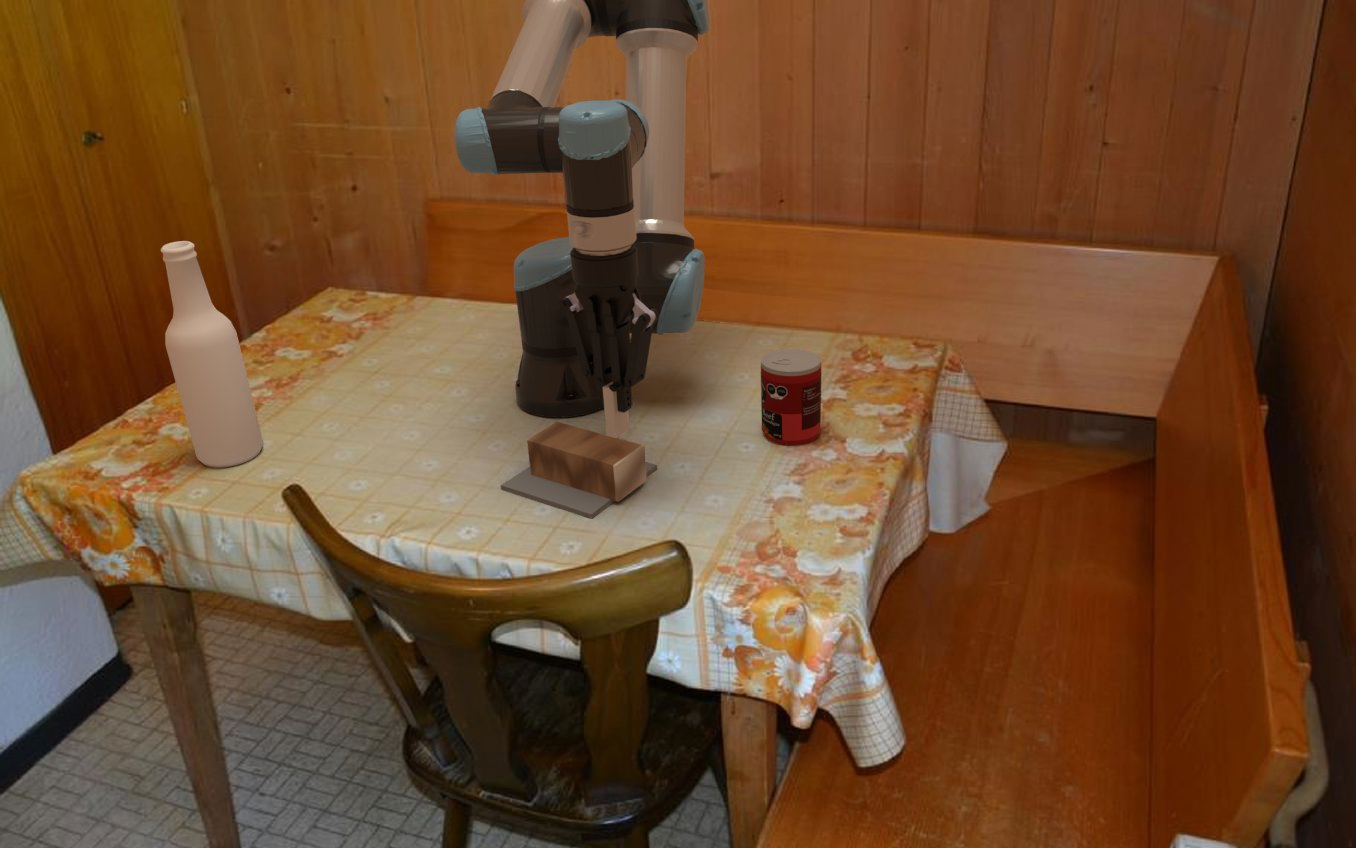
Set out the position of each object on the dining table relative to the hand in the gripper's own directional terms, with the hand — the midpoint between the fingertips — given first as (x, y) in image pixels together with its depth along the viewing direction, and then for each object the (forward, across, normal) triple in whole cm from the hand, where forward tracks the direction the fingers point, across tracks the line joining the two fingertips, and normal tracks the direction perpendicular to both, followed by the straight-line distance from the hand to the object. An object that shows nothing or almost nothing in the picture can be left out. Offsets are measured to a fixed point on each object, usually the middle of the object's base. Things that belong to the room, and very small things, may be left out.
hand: (618, 432), depth 134 cm
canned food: (+9, +11, +24) cm, 28 cm away
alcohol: (+9, -54, -18) cm, 58 cm away
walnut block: (+5, +2, 0) cm, 6 cm away
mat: (+8, -7, 0) cm, 11 cm away
